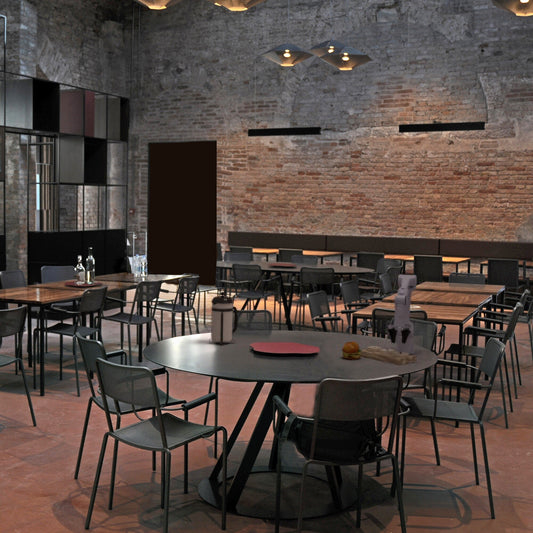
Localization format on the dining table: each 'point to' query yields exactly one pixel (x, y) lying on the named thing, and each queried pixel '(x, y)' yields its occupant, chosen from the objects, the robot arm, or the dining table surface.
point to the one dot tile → (374, 348)
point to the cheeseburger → (351, 350)
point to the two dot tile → (386, 351)
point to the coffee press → (223, 319)
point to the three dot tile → (400, 354)
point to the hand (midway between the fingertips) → (398, 343)
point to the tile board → (387, 357)
